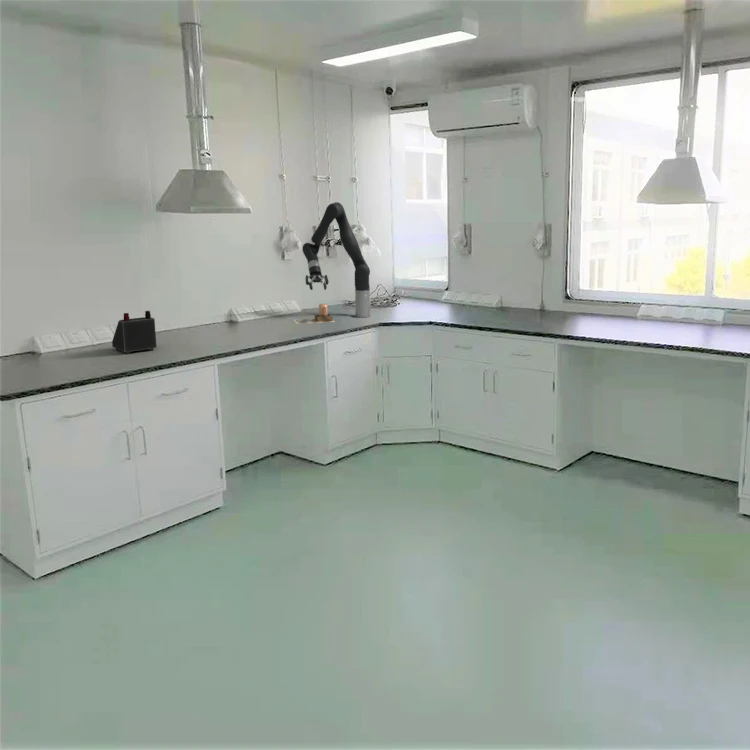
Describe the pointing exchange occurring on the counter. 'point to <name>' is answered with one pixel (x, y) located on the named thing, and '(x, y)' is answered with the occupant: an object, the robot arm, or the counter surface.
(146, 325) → the voltmeter
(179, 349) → the counter surface
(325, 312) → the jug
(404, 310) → the counter surface
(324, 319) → the station board
